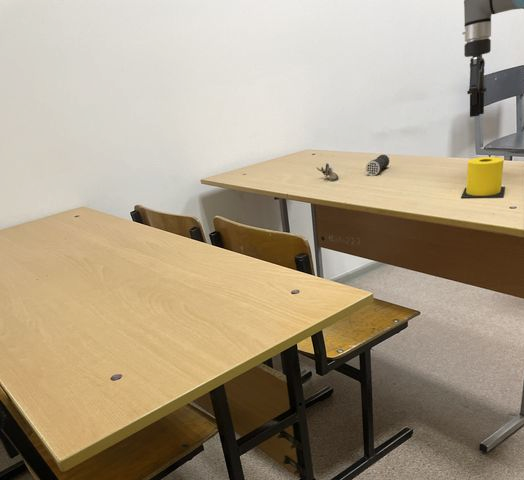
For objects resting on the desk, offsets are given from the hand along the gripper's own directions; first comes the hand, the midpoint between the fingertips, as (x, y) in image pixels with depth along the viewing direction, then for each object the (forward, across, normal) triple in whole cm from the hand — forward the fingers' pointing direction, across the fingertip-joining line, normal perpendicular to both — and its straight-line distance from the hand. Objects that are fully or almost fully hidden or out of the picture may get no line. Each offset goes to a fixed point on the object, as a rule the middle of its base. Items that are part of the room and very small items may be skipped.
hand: (477, 115), depth 170 cm
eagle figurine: (+16, -10, -56) cm, 59 cm away
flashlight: (+16, -22, -39) cm, 48 cm away
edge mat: (+22, +14, +3) cm, 27 cm away
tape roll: (+22, +14, +3) cm, 26 cm away
